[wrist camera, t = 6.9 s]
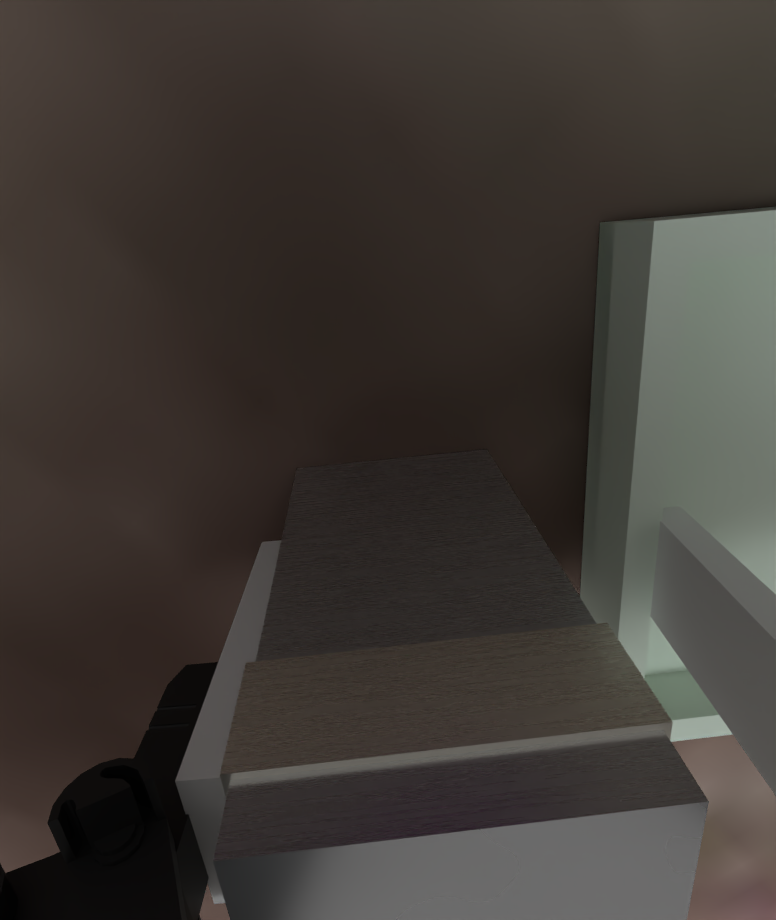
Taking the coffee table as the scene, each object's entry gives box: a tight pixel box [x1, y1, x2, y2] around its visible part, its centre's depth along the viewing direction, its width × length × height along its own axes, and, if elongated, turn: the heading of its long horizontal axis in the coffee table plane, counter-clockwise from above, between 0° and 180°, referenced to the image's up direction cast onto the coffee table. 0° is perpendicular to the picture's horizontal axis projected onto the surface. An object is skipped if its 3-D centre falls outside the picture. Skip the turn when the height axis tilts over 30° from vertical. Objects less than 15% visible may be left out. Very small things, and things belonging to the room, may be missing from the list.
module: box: [213, 449, 709, 920], centre depth 11 cm, size 5×5×10 cm
